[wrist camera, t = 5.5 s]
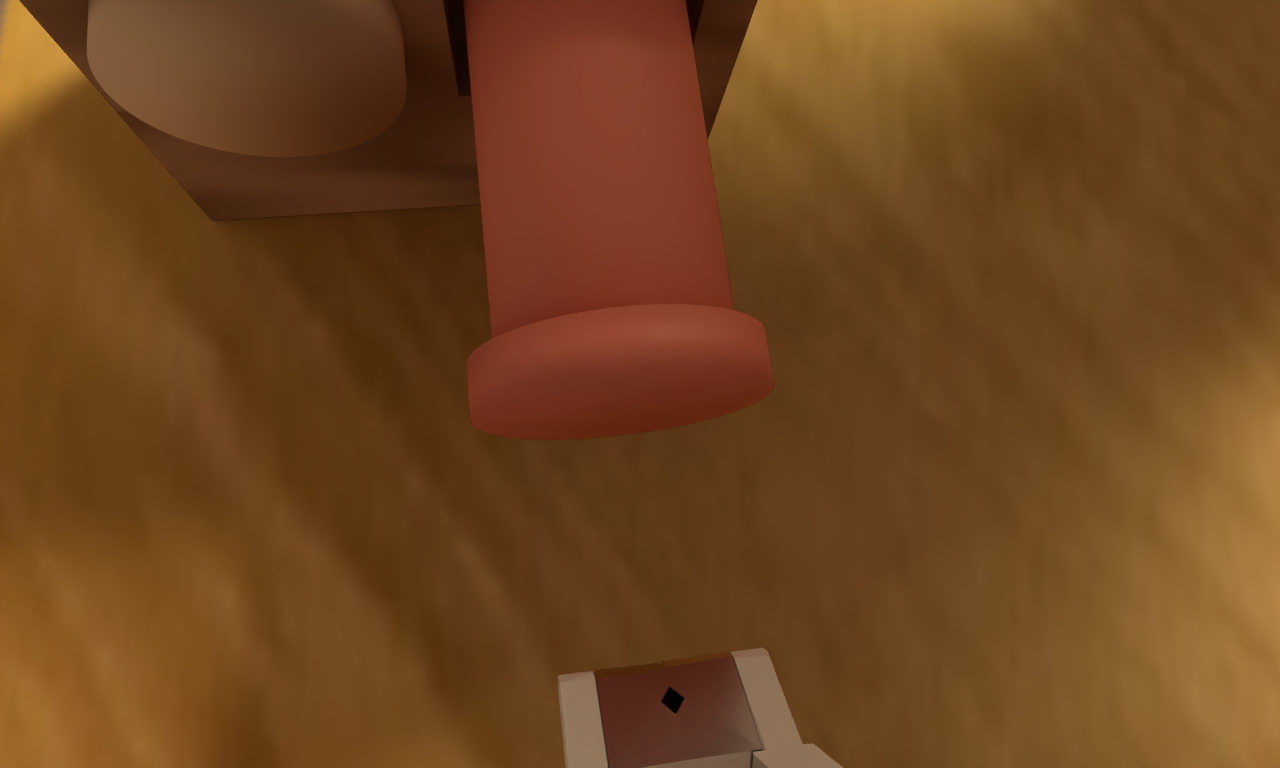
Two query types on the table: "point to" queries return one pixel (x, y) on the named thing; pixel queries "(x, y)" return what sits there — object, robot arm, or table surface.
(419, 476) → the table surface
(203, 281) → the table surface
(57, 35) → the socket block
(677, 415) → the red plug
